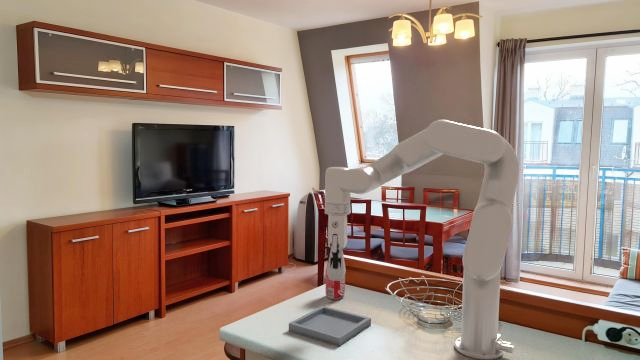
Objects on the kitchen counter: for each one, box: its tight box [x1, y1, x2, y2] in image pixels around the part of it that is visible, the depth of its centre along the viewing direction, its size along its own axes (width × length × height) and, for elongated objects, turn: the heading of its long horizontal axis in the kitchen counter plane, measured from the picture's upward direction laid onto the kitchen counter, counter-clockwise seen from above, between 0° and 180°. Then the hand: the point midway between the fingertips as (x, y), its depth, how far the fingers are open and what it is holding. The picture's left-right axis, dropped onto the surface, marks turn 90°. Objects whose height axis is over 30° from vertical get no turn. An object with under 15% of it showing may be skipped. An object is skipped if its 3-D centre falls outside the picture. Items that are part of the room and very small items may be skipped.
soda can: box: [325, 267, 346, 301], centre depth 171 cm, size 7×7×12 cm
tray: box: [288, 305, 372, 347], centre depth 144 cm, size 18×18×2 cm
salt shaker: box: [326, 239, 347, 281], centre depth 142 cm, size 6×6×13 cm
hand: (336, 268), depth 142 cm, fingers closed on salt shaker, 3 cm apart
